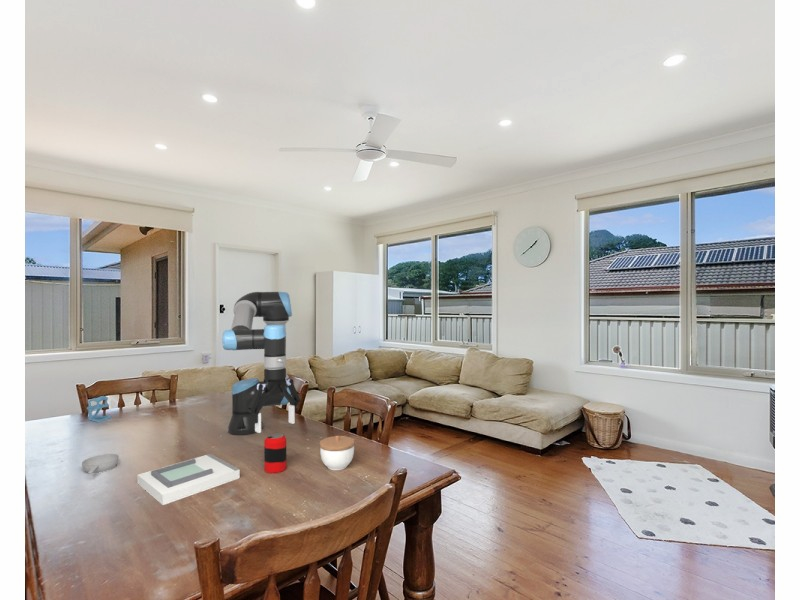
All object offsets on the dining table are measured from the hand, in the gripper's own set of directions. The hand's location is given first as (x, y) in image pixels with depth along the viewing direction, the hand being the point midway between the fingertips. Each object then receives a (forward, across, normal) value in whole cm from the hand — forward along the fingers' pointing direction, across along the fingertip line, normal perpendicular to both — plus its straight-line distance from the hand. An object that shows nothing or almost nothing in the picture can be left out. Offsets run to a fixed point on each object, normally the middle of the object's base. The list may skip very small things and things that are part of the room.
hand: (275, 427), depth 146 cm
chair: (+14, -24, +124) cm, 127 cm away
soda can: (+15, 0, 0) cm, 15 cm away
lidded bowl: (+15, +16, -15) cm, 27 cm away
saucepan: (+15, -42, +46) cm, 64 cm away
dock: (+15, -24, +14) cm, 32 cm away
